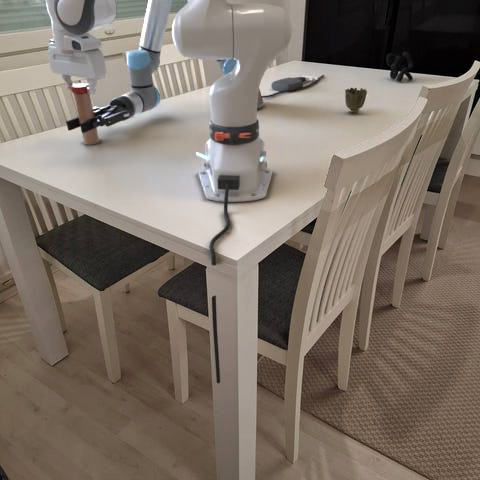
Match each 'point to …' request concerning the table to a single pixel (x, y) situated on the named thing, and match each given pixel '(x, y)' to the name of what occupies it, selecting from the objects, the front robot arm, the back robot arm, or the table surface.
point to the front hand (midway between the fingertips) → (81, 92)
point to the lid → (79, 88)
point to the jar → (86, 116)
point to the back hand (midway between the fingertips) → (74, 127)
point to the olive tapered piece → (355, 99)
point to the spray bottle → (291, 83)
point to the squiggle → (399, 66)
